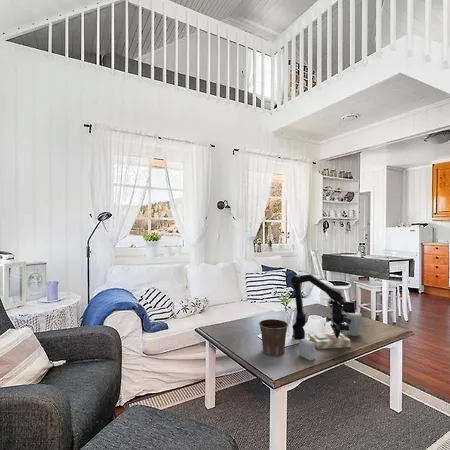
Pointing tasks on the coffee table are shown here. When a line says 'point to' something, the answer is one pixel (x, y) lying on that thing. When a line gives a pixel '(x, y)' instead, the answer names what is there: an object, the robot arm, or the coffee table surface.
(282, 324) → the plant pot
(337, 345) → the key console
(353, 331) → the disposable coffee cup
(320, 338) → the blue grey key
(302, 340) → the medicine box
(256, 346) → the coffee table surface
